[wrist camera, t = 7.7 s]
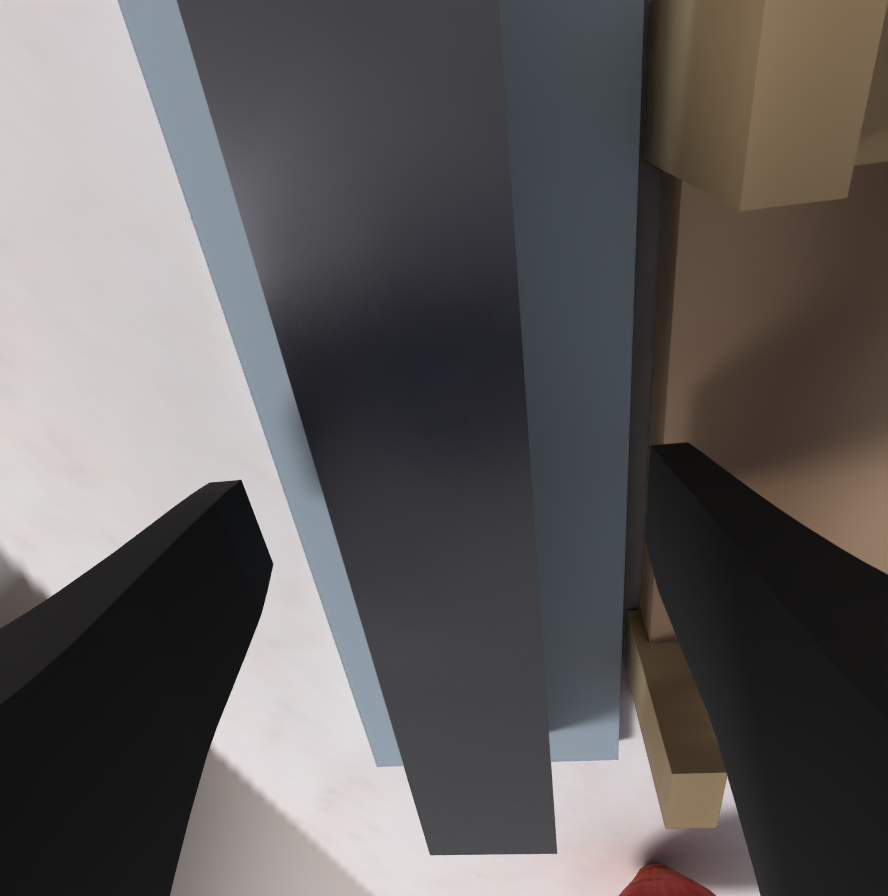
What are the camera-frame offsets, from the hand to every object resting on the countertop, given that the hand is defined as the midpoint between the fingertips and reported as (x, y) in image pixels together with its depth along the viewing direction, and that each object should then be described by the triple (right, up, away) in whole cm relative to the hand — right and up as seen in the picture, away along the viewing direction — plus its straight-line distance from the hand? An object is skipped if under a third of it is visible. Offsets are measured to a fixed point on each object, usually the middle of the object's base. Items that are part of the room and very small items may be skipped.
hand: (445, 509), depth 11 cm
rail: (0, +1, +1) cm, 1 cm away
